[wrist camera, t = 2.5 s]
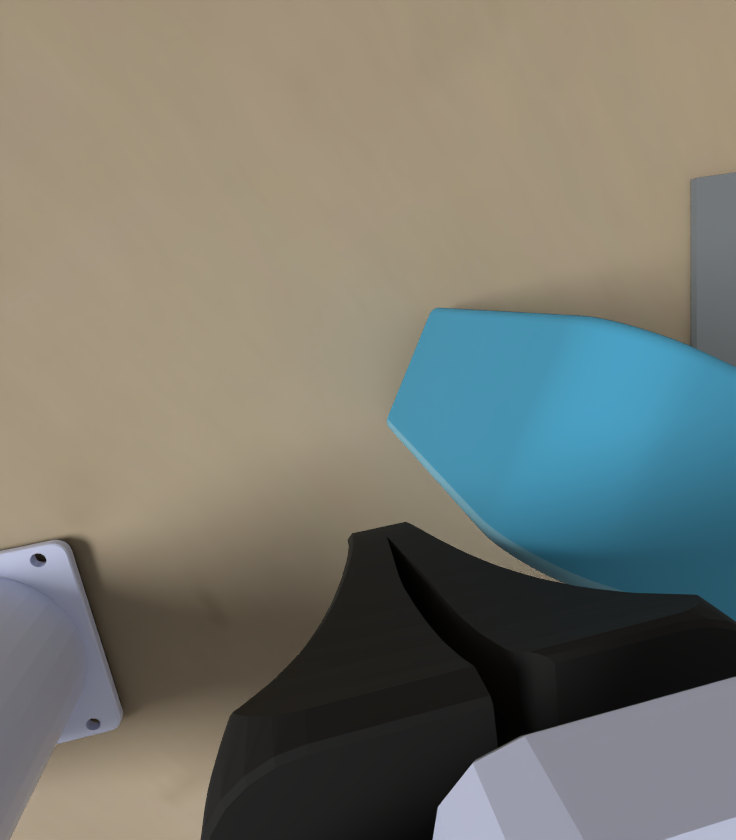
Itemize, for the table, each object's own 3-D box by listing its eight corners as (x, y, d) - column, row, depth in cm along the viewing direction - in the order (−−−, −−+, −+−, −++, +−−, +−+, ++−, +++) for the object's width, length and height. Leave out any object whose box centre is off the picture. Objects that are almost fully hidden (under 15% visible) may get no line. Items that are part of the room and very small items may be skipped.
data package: (675, 413, 23) (1097, 533, 11) (628, 509, 23) (980, 718, 12) (421, 304, 20) (631, 313, 8) (376, 417, 20) (511, 573, 9)
